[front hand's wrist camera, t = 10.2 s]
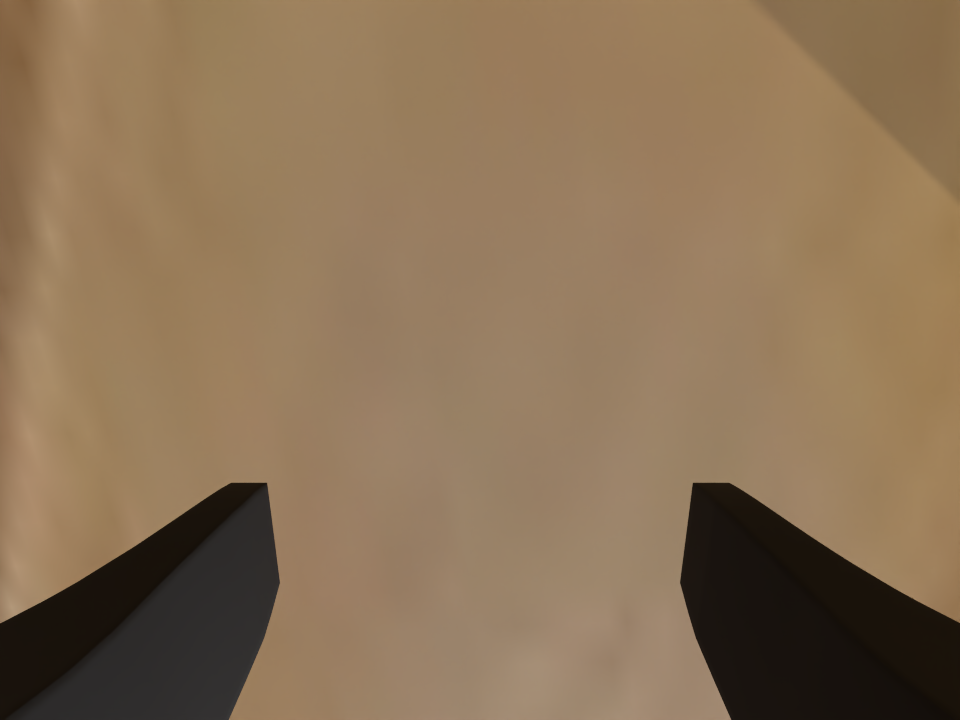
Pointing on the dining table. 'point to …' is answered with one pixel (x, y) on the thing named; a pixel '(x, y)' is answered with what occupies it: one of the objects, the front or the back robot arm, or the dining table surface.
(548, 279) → the dining table surface
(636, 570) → the dining table surface
